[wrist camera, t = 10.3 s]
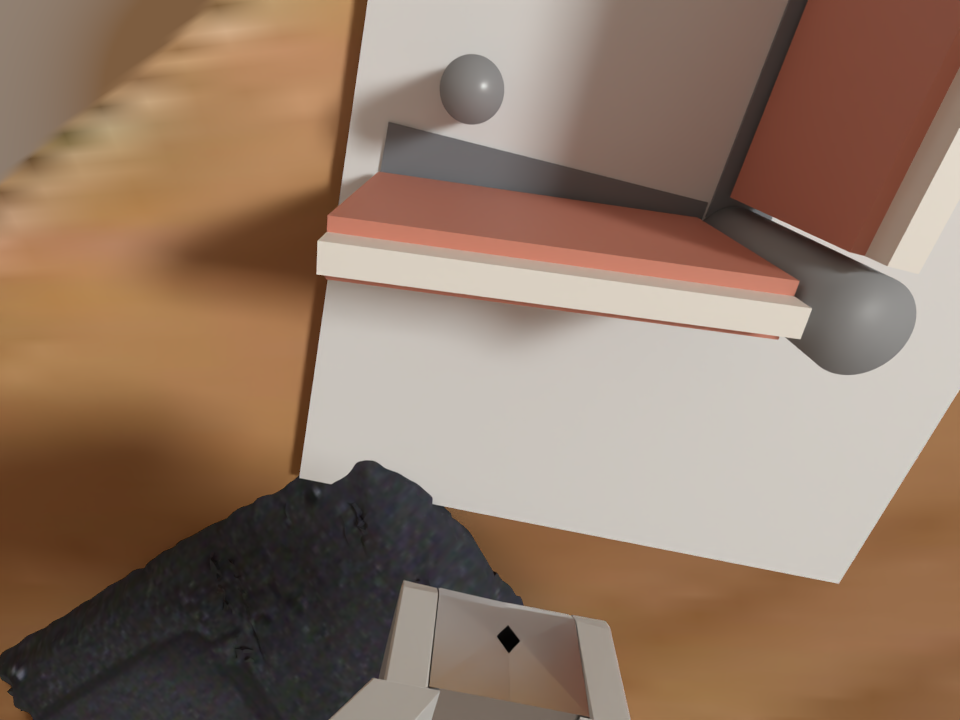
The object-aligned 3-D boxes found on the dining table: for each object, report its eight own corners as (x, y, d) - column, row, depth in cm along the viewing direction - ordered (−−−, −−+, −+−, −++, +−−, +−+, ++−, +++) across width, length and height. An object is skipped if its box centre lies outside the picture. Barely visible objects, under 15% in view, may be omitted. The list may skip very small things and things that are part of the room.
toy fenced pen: (831, 573, 23) (887, 651, 20) (302, 469, 22) (272, 536, 18) (1227, -75, 15) (1428, -117, 12) (420, -336, 13) (400, -471, 10)
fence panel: (375, 216, 17) (316, 290, 11) (378, 171, 17) (317, 223, 10) (685, 259, 18) (794, 354, 11) (697, 217, 17) (818, 292, 11)
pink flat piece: (746, 281, 18) (892, 392, 12) (682, 266, 18) (794, 369, 12) (926, -136, 14) (1301, -322, 8) (846, -162, 14) (1161, -374, 8)
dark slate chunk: (605, 666, 26) (630, 782, 22) (226, 841, 31) (185, 963, 27) (380, 402, 21) (354, 485, 17) (-29, 663, 26) (-130, 778, 22)
